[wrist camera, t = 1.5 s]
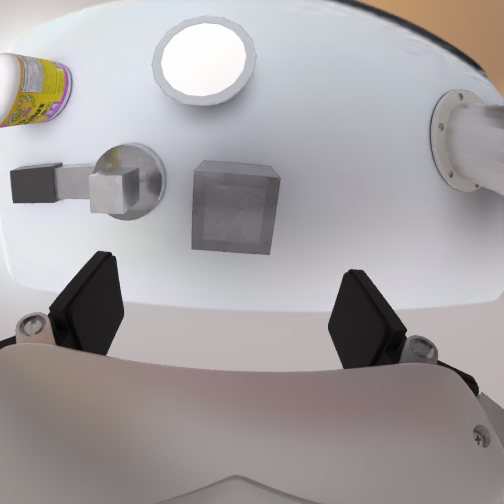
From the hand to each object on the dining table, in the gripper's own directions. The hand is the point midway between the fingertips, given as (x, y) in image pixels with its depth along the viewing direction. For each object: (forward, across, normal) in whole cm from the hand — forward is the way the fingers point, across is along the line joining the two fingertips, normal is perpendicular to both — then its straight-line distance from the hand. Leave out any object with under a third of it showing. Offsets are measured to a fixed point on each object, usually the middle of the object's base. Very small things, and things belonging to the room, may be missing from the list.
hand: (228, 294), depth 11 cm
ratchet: (+16, +16, -1) cm, 23 cm away
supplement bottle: (+16, +20, -11) cm, 28 cm away
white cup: (+16, +3, -11) cm, 20 cm away
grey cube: (+16, 0, 0) cm, 16 cm away
